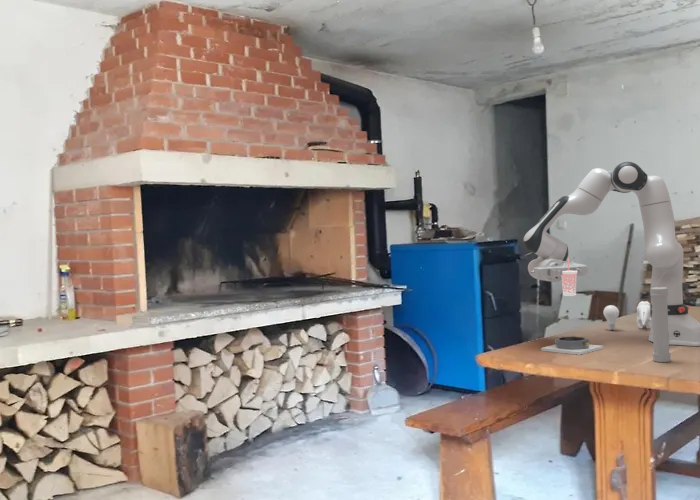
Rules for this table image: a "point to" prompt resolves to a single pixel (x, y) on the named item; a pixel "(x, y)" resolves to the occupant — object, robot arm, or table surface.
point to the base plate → (575, 351)
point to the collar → (572, 342)
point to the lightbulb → (611, 316)
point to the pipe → (660, 324)
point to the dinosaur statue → (643, 314)
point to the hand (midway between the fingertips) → (569, 272)
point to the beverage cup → (569, 282)
